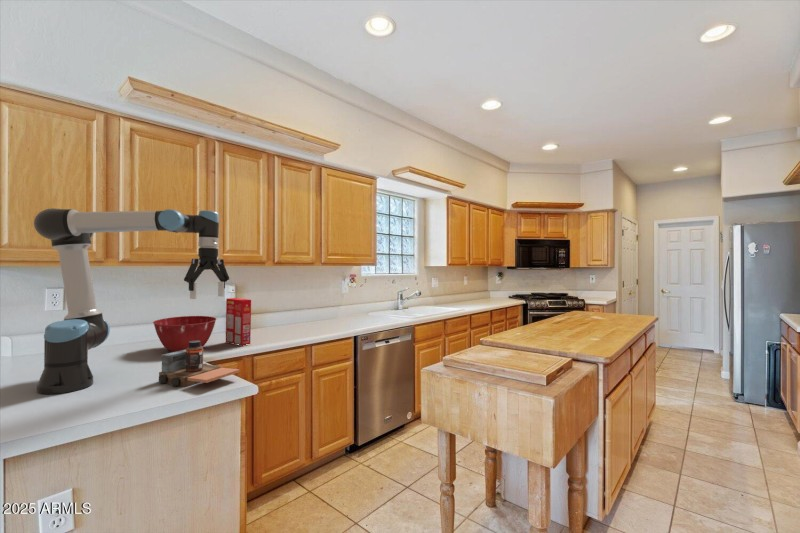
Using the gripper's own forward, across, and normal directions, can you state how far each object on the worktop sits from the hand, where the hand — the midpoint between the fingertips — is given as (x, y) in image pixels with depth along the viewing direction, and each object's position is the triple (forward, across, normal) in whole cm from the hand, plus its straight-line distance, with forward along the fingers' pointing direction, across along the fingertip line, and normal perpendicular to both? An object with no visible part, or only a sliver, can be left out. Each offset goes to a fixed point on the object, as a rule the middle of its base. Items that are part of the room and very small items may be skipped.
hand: (207, 297), depth 159 cm
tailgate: (+28, -11, -13) cm, 33 cm away
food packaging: (+31, +43, +28) cm, 60 cm away
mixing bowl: (+31, +20, +40) cm, 54 cm away
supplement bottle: (+27, -11, -7) cm, 30 cm away
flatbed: (+31, -11, -5) cm, 33 cm away
